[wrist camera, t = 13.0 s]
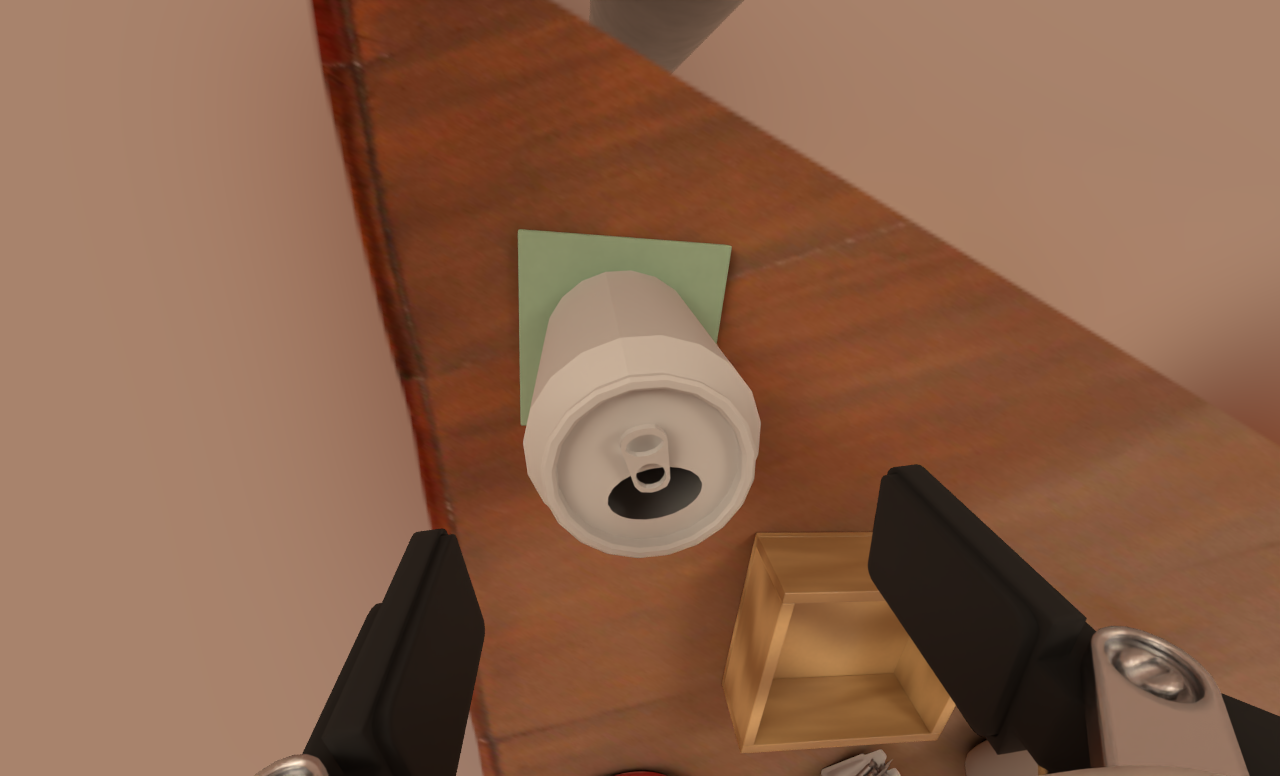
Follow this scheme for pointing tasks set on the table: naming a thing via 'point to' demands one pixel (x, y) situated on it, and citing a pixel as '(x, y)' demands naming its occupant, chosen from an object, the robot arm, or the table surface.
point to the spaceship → (862, 766)
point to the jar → (999, 762)
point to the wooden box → (824, 652)
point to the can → (638, 420)
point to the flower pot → (640, 774)
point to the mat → (571, 258)
